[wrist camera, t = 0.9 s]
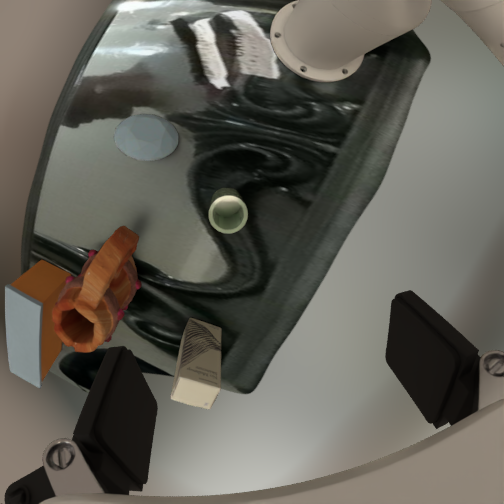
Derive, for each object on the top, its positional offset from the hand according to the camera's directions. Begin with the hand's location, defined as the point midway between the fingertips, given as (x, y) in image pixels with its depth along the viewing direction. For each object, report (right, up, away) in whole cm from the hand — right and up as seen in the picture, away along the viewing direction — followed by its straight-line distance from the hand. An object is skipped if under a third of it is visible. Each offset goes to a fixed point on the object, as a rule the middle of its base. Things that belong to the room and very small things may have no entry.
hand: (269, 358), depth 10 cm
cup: (-4, +10, +27) cm, 29 cm away
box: (-8, -8, +33) cm, 35 cm away
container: (-33, -5, +29) cm, 44 cm away
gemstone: (-13, +18, +23) cm, 32 cm away
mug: (-18, +3, +28) cm, 33 cm away
